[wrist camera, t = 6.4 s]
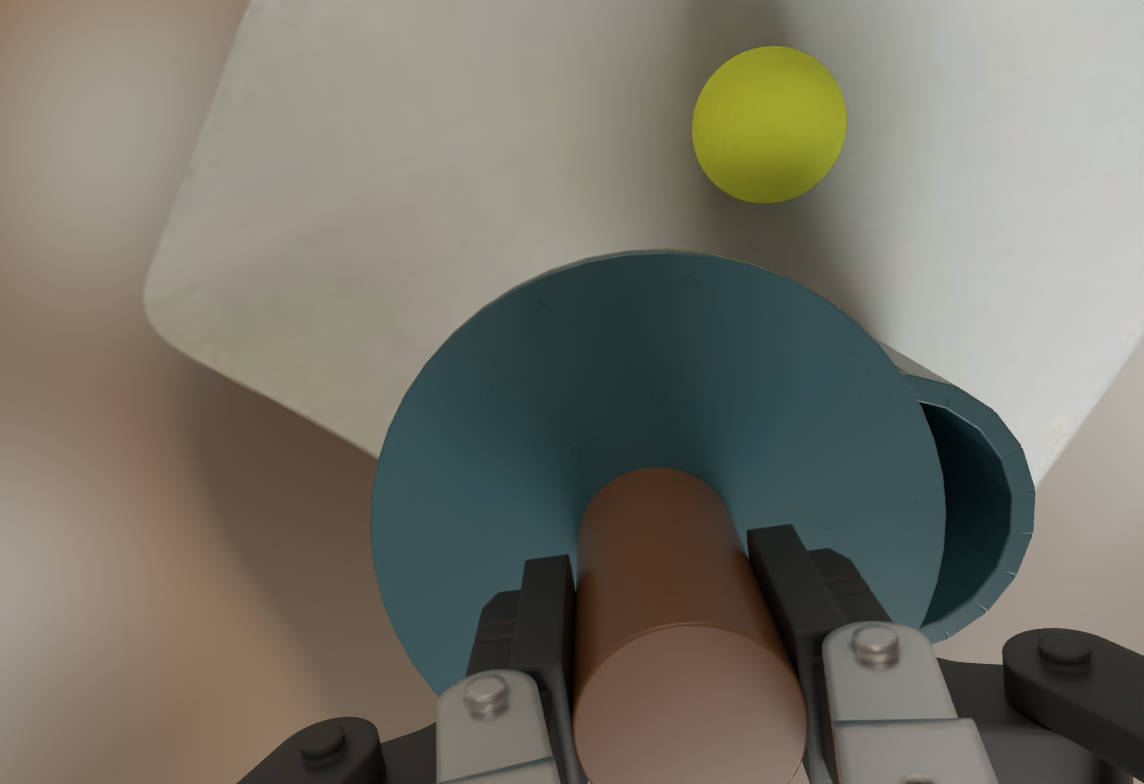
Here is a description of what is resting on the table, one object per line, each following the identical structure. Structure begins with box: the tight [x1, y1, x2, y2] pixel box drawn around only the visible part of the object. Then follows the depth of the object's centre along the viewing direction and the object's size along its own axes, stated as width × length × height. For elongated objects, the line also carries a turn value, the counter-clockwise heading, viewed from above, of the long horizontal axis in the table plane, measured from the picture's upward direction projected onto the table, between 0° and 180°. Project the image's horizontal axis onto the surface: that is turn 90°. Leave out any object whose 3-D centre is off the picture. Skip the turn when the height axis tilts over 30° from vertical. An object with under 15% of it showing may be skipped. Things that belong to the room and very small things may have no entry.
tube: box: [871, 336, 1035, 644], centre depth 37 cm, size 10×10×15 cm
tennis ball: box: [692, 46, 847, 204], centre depth 38 cm, size 6×6×6 cm
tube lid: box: [370, 249, 946, 784], centre depth 15 cm, size 11×11×7 cm
